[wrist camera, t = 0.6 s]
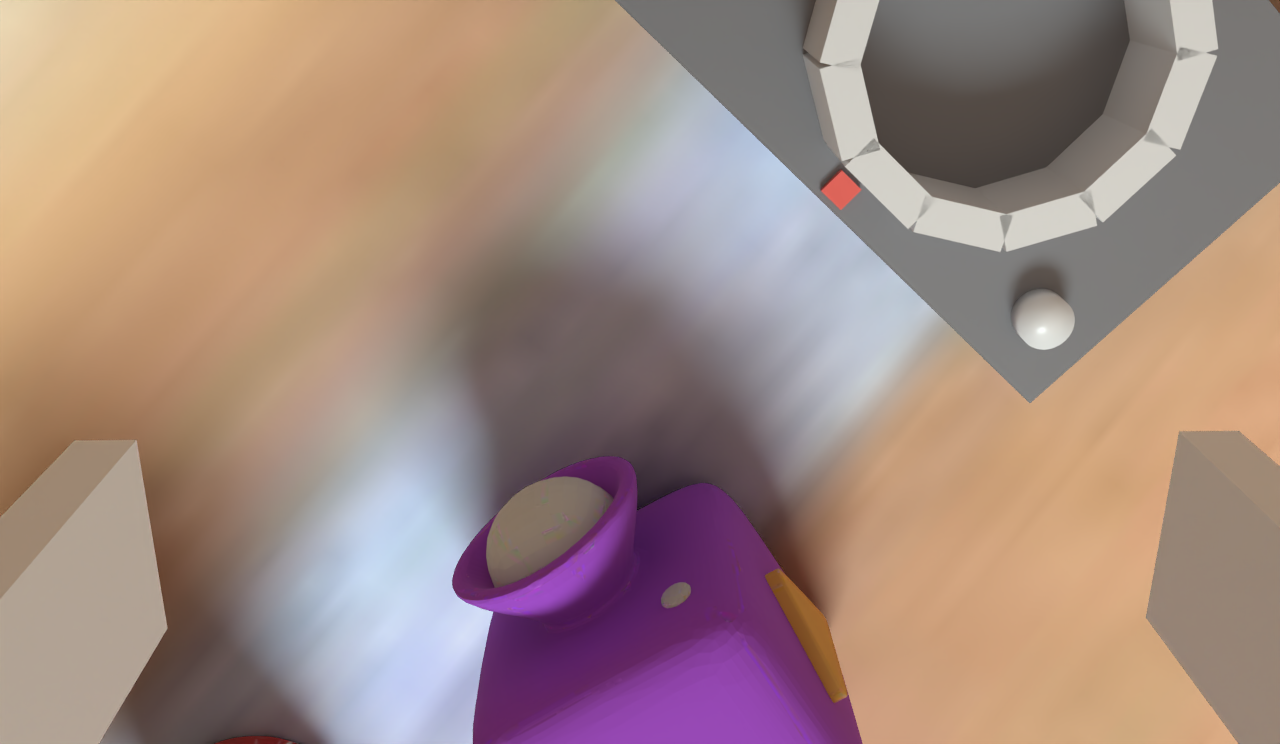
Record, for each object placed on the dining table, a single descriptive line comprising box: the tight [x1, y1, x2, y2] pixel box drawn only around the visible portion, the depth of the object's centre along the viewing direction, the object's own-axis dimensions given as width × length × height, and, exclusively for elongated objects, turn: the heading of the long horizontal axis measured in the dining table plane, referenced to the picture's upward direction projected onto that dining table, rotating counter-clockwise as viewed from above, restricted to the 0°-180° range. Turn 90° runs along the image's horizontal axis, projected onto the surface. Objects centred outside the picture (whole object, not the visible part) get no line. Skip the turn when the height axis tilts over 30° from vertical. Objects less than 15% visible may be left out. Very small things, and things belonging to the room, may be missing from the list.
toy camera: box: [452, 456, 862, 744], centre depth 38 cm, size 11×14×10 cm
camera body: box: [615, 0, 1280, 403], centre depth 33 cm, size 18×12×6 cm, turn 47°
